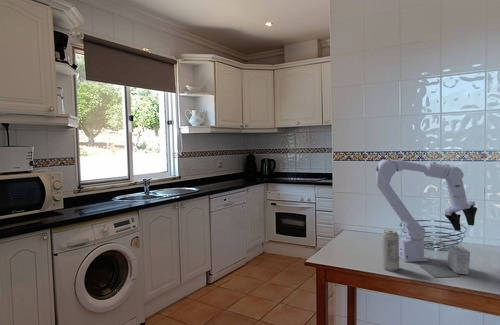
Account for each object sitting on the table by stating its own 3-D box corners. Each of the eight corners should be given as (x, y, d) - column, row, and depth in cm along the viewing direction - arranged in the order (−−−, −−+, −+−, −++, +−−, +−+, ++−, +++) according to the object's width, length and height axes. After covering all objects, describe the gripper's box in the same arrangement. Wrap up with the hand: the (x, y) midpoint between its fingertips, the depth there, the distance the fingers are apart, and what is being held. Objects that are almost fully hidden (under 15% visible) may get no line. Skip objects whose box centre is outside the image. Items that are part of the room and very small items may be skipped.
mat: (434, 277, 118) (434, 276, 118) (419, 266, 129) (419, 265, 128) (459, 276, 117) (459, 276, 117) (442, 265, 128) (442, 264, 128)
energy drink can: (394, 265, 130) (394, 228, 130) (402, 271, 124) (401, 232, 124) (379, 266, 130) (379, 229, 129) (386, 272, 124) (386, 233, 123)
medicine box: (468, 275, 118) (470, 252, 118) (455, 273, 119) (457, 250, 119) (459, 266, 126) (461, 245, 125) (446, 265, 127) (448, 244, 126)
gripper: (453, 200, 125) (460, 234, 126) (479, 191, 130) (486, 223, 130) (437, 199, 132) (444, 231, 132) (463, 190, 137) (470, 221, 137)
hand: (464, 227), depth 132 cm, fingers open, 7 cm apart
